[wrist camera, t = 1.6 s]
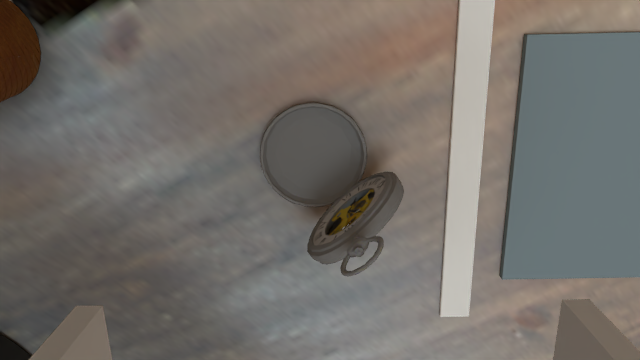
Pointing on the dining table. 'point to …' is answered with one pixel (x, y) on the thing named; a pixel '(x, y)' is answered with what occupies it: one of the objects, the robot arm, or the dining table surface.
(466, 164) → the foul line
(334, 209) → the pocket watch
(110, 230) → the dining table surface
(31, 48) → the disposable coffee cup
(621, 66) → the mat
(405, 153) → the dining table surface
